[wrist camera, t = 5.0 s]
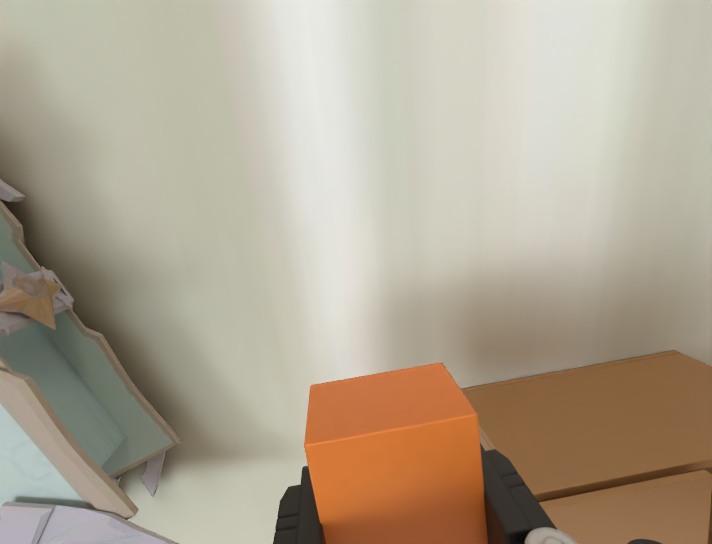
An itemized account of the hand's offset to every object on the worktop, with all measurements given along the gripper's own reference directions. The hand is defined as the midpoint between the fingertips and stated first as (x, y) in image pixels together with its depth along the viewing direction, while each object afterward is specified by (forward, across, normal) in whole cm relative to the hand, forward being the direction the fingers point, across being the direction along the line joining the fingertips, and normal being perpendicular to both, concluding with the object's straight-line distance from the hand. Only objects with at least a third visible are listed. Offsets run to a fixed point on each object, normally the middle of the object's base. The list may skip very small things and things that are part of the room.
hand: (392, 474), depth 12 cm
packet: (+1, 0, 0) cm, 1 cm away
